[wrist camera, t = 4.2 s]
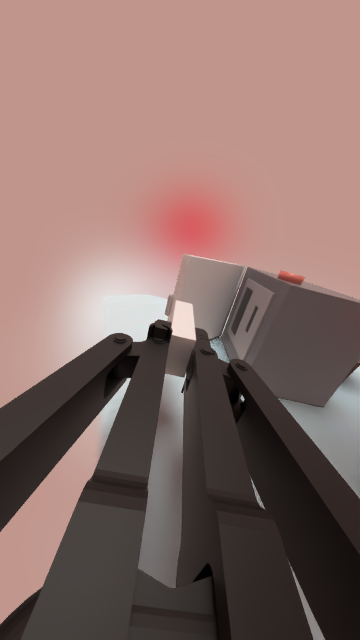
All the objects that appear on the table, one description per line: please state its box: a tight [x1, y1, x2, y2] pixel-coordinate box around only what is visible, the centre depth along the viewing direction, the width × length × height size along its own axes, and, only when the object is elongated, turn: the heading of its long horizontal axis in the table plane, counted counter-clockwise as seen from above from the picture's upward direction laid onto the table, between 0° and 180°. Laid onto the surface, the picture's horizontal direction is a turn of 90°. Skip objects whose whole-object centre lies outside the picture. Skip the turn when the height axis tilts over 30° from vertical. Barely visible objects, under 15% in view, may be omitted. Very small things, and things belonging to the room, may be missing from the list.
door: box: [165, 254, 246, 339], centre depth 25 cm, size 2×13×12 cm, turn 132°
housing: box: [221, 267, 360, 407], centre depth 25 cm, size 10×14×13 cm
